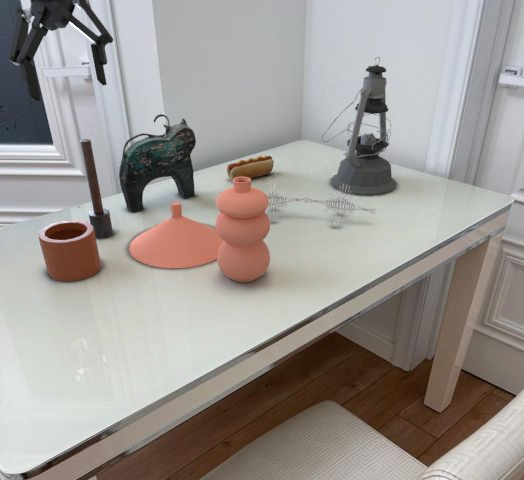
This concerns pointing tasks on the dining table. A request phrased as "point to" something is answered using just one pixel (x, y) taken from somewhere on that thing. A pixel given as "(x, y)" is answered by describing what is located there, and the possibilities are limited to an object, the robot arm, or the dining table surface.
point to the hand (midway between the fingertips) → (68, 90)
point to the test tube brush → (315, 201)
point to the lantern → (367, 143)
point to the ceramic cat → (157, 163)
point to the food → (250, 167)
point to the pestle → (95, 195)
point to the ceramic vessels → (213, 236)
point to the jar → (70, 250)
